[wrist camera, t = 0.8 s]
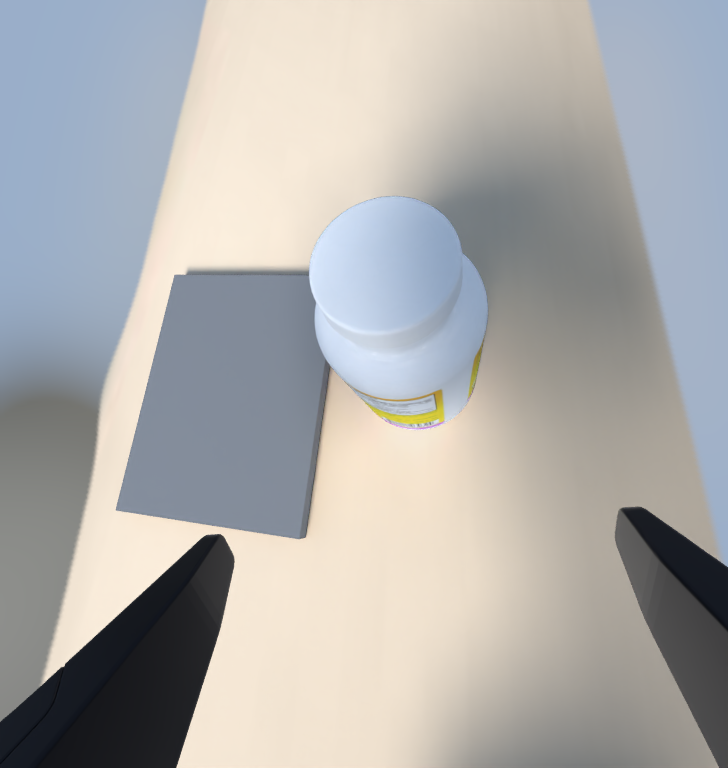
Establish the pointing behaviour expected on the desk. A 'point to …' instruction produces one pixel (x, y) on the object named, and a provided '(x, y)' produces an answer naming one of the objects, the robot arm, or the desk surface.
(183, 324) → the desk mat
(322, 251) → the supplement bottle
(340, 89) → the desk surface
